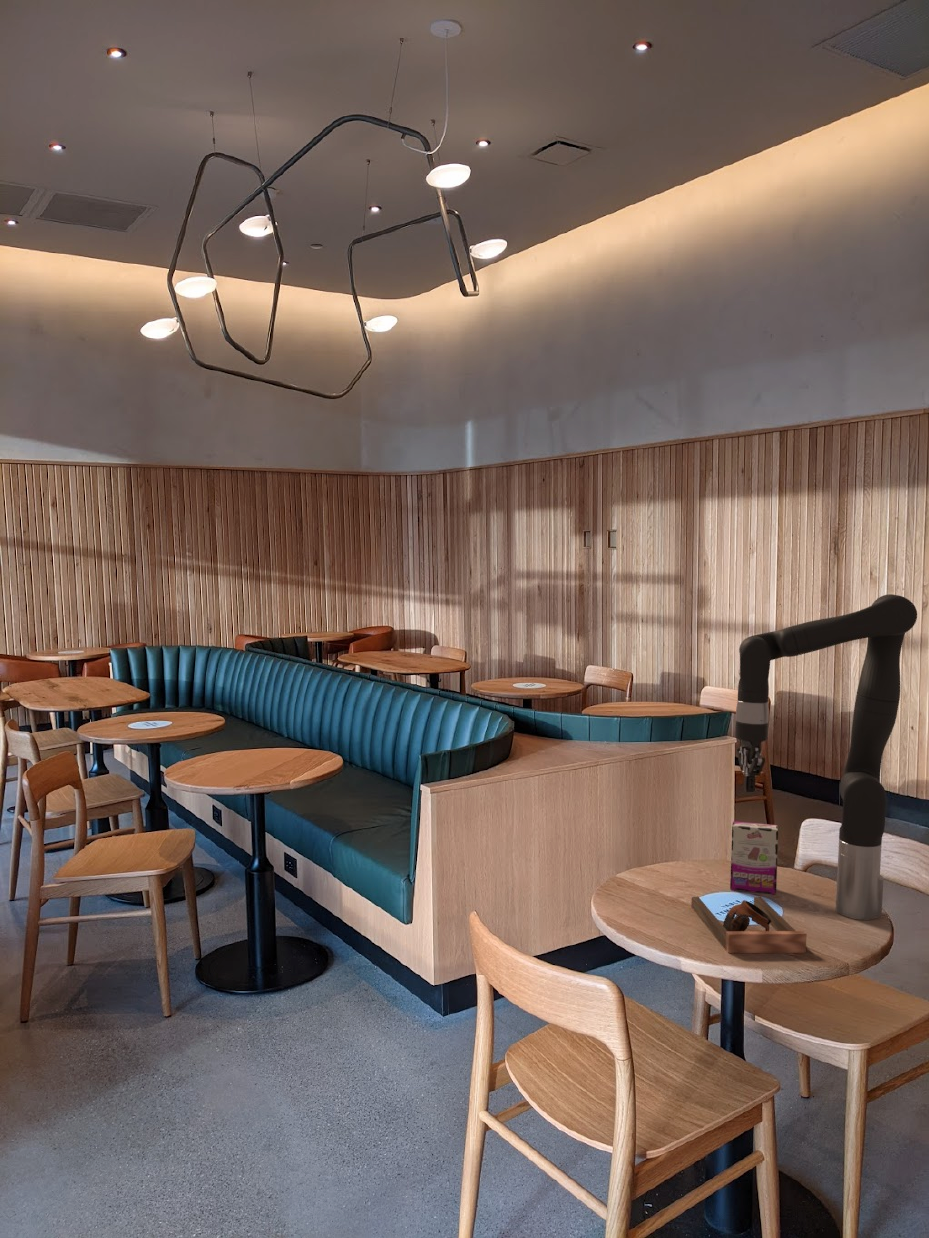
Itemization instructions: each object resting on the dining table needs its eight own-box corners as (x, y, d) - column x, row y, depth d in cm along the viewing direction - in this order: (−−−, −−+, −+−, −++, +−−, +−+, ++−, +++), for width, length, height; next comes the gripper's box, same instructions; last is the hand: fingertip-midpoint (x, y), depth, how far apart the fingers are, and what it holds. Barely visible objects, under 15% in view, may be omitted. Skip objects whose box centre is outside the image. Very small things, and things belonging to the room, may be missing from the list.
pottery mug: (723, 924, 214) (743, 895, 214) (759, 952, 210) (780, 922, 209) (710, 928, 204) (731, 897, 204) (747, 958, 199) (769, 926, 199)
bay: (760, 906, 225) (760, 890, 224) (805, 952, 199) (806, 933, 199) (691, 906, 224) (691, 890, 223) (728, 952, 198) (728, 934, 198)
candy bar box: (775, 888, 237) (778, 824, 236) (776, 895, 233) (779, 829, 232) (729, 883, 241) (732, 820, 240) (729, 889, 236) (731, 825, 235)
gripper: (778, 724, 219) (775, 798, 220) (757, 715, 232) (754, 784, 233) (746, 724, 219) (743, 798, 220) (727, 714, 232) (724, 784, 233)
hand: (749, 791), depth 227 cm, fingers closed
